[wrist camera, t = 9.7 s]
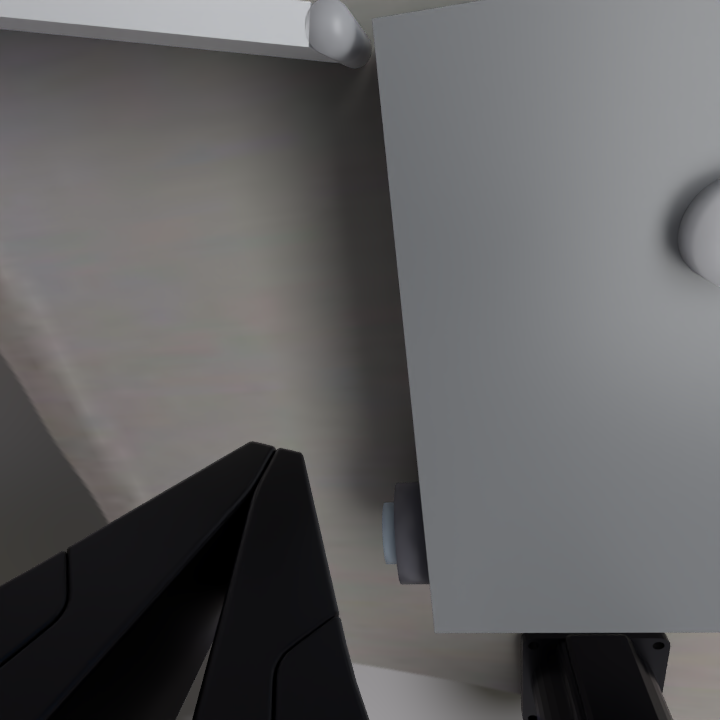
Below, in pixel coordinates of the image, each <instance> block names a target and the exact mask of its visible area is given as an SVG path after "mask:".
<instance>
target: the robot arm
mask: <svg viewBox="0 0 720 720" xmlns="http://www.w3.org/2000/svg"><path fill="white" fill-rule="evenodd" d="M212 642H213V643H212ZM211 645H212V647H211ZM210 647H211V651H210V655H209V658H208V662H207V666H206V670H205V674H204V677H203V681H202V685H201V689H200V692H199V696H198V700H197V704H196V708H195V712H194V715H193V719H192V720H369V718H368V715H367V712H366V709H365V706H364V703H363V700H362V697H361V694H360V691H359V688H358V685H357V682H356V678H355V675H354V671H353V667H352V663H351V660H350V656H349V652H348V648H347V645H346V640H345V636H344V632H343V627H342V623H341V619H340V618H339V611H338V606H337V602H336V598H335V593H334V589H333V584H332V580H331V576H330V571H329V567H328V562H327V558H326V554H325V549H324V545H323V540H322V536H321V531H320V527H319V523H318V518H317V514H316V509H315V505H314V501H313V496H312V492H311V487H310V483H309V479H308V474H307V470H306V465H305V461H304V457H303V455H302V453H300V452H296V451H292V450H288V449H283V448H279V449H277V450H276V449H275V447H274V446H271V445H266V444H262V443H258V442H253V441H252V442H249V443H247V444H245V445H243V446H242V447H240V448H238V449H236V450H235V451H233V452H231V453H229V454H228V455H226V456H224V457H223V458H221V459H219V460H217V461H216V462H214V463H212V464H211V465H209V466H207V467H205V468H204V469H202V470H200V471H199V472H197V473H195V474H193V475H192V476H190V477H188V478H187V479H185V480H183V481H181V482H180V483H178V484H176V485H175V486H173V487H171V488H169V489H168V490H166V491H164V492H163V493H161V494H159V495H157V496H156V497H154V498H152V499H151V500H149V501H147V502H145V503H144V504H142V505H140V506H138V507H137V508H135V509H133V510H132V511H130V512H128V513H126V514H125V515H123V516H121V517H120V518H118V519H116V520H114V521H113V522H111V523H109V524H108V525H106V526H104V527H102V528H101V529H99V530H98V531H96V532H94V533H92V534H90V535H89V536H87V537H85V538H84V539H82V540H80V541H78V542H77V543H75V544H74V545H72V546H70V547H68V549H67V553H66V552H65V551H61V552H59V553H57V554H56V555H54V556H52V557H50V558H49V559H47V560H45V561H44V562H42V563H40V564H38V565H37V566H35V567H33V568H31V569H30V570H28V571H26V572H24V573H22V574H21V575H19V576H17V577H15V578H13V579H11V580H10V581H8V582H6V583H4V584H2V585H1V586H0V720H176V718H177V716H178V714H179V712H180V710H181V707H182V705H183V703H184V701H185V699H186V697H187V695H188V693H189V691H190V688H191V687H192V684H193V682H194V680H195V678H196V676H197V674H198V672H199V670H200V668H201V666H202V663H203V661H204V659H205V657H206V655H207V653H208V651H209V649H210ZM669 651H670V642H669V640H668V638H667V636H666V634H665V633H524V634H523V635H522V637H521V710H522V716H523V720H673V719H672V716H671V714H670V711H669V709H668V707H667V704H666V702H665V699H664V697H663V694H662V692H663V686H664V680H665V674H666V668H667V662H668V656H669Z"/></svg>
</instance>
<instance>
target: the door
mask: <svg viewBox="0 0 720 720" xmlns="http://www.w3.org/2000/svg"><path fill="white" fill-rule="evenodd" d="M0 29H5V30H15V31H24V32H34V33H44V34H54V35H64V36H74V37H84V38H94V39H104V40H114V41H124V42H134V43H144V44H154V45H164V46H174V47H184V48H194V49H203V50H213V51H223V52H233V53H243V54H253V55H263V56H273V57H283V58H293V59H303V60H313V61H323V62H333V63H341V64H343V65H345V66H347V67H349V68H360V67H362V66H364V65H365V64H366V63H367V62H368V60H369V58H370V56H371V51H372V45H371V41H370V39H369V37H368V35H367V34H366V33H365V31H364V30H363V29H362V27H361V26H360V24H359V23H358V22H357V20H356V19H355V18H354V16H353V15H352V14H351V12H350V11H349V9H348V8H347V7H346V6H345V5H344V4H343V3H342V2H341V1H339V0H318V1H316V2H315V3H314V4H313V3H311V2H310V1H299V0H0Z"/></svg>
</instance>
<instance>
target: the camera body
mask: <svg viewBox="0 0 720 720" xmlns="http://www.w3.org/2000/svg"><path fill="white" fill-rule="evenodd" d="M372 24H373V34H374V44H375V54H376V63H377V73H378V83H379V93H380V103H381V112H382V122H383V132H384V142H385V151H386V161H387V171H388V181H389V191H390V200H391V210H392V220H393V230H394V239H395V249H396V259H397V269H398V279H399V288H400V298H401V308H402V318H403V327H404V337H405V347H406V357H407V367H408V376H409V386H410V396H411V406H412V416H413V425H414V435H415V445H416V455H417V464H418V474H419V482H411V483H396V485H395V493H394V502H386V503H384V505H383V514H382V532H383V547H384V556H385V561H386V564H397V568H398V575H399V580H400V584H430V592H431V601H432V611H433V621H434V631H435V633H664V632H720V0H480V1H474V2H468V3H462V4H456V5H450V6H444V7H439V8H433V9H427V10H421V11H415V12H409V13H403V14H397V15H391V16H385V17H379V18H373V19H372Z"/></svg>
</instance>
